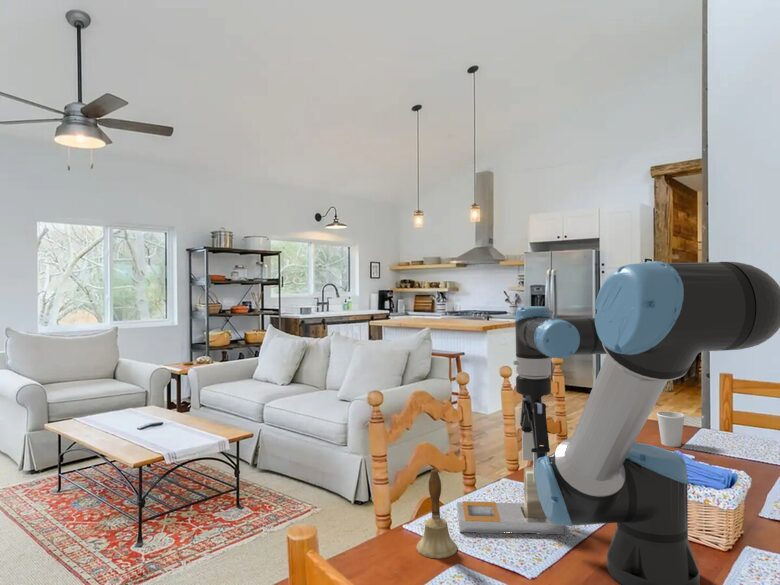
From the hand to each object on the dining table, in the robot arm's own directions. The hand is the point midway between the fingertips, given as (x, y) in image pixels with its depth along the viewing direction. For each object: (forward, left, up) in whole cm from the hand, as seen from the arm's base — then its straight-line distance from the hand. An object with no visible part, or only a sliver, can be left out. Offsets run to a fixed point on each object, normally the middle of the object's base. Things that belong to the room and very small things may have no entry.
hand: (533, 470), depth 117 cm
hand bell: (-12, +22, -12) cm, 28 cm away
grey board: (0, +6, -12) cm, 13 cm away
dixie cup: (+61, -56, -12) cm, 83 cm away
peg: (0, 0, -12) cm, 12 cm away
